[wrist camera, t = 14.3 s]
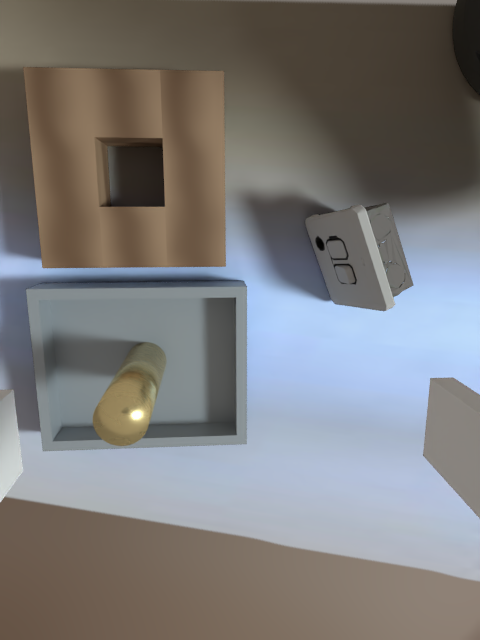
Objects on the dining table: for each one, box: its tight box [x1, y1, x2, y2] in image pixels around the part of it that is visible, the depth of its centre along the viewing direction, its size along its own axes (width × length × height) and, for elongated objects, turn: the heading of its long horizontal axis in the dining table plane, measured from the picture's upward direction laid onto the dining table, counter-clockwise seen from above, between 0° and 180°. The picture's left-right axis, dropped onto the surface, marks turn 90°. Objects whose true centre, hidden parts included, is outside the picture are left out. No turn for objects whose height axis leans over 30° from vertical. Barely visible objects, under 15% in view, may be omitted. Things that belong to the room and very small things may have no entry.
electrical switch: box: [305, 203, 413, 311], centre depth 42 cm, size 9×5×9 cm, turn 21°
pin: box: [93, 342, 167, 446], centre depth 40 cm, size 4×4×14 cm
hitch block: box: [23, 67, 226, 268], centre depth 41 cm, size 16×16×5 cm
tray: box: [26, 281, 247, 451], centre depth 46 cm, size 20×16×4 cm
